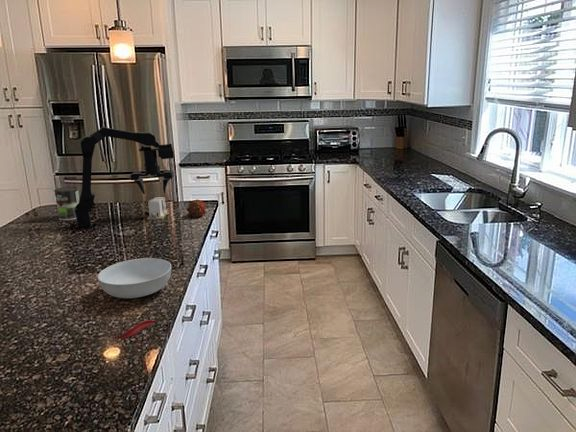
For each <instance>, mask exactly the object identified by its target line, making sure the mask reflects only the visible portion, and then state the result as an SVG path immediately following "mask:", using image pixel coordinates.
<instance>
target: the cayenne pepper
mask: <svg viewBox="0 0 576 432" xmlns="http://www.w3.org/2000/svg"><path fill="white" fill-rule="evenodd" d="M156 322H158V321H157V320H153V319H152V320H151V319H149V320H144V321H141V322H138V323H137V324H136V325H134V326H132V327H131V329H129V330H128V331H126V332H125V333H123V334H120V335H118V336H116V337H114V338H115V339H118V338H120V339H126V338H131V337H134V336H135V335H137V334H138V333H139V332H141V331H142V330H144V329H145V328H147V327H149V326H151V325H154V324H155V323H156Z"/></svg>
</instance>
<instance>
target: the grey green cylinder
mask: <svg viewBox="0 0 576 432" xmlns="http://www.w3.org/2000/svg"><path fill="white" fill-rule="evenodd" d="M53 192H54V197H55V202H56V209H57V214H58V220H59V221H72V220H73V221H74V220H76V214H75V212H74V211H75V207H76V206H77V204H78V203H79V199H80V194H79V187H77V186H66V187H65V186H63V187H58V188H56V189H54V190H53Z"/></svg>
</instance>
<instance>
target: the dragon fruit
mask: <svg viewBox="0 0 576 432" xmlns="http://www.w3.org/2000/svg"><path fill="white" fill-rule="evenodd" d="M206 210H207V205H206V203H205V202H204V201H202V200H201V199H195V200H193V201H190V203H189V204H188V207H187V208H186V211H187V212H188V214H190V215H191V216H192V217H197V218H200V217H201V216H204V215H205V214H206V212H207V211H206Z"/></svg>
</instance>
